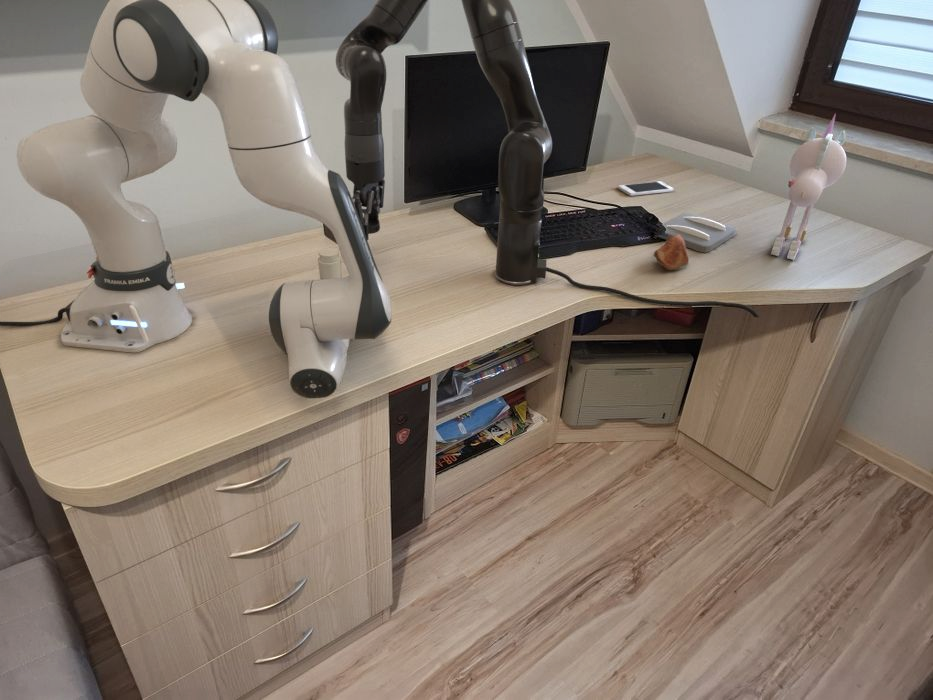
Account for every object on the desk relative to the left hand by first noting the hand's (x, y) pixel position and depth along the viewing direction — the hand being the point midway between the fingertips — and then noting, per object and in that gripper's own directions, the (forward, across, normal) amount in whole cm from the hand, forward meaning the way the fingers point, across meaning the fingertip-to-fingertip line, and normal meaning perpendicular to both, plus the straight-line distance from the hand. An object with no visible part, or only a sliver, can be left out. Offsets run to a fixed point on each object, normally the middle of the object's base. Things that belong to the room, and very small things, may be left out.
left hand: (333, 292), depth 122 cm
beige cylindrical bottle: (-1, 0, +6) cm, 6 cm away
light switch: (+43, -89, +6) cm, 99 cm away
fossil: (+25, -76, +6) cm, 80 cm away
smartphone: (+77, -86, +7) cm, 116 cm away
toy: (+40, -114, +6) cm, 121 cm away
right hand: (+16, -6, -5) cm, 18 cm away
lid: (+16, -6, -7) cm, 19 cm away
